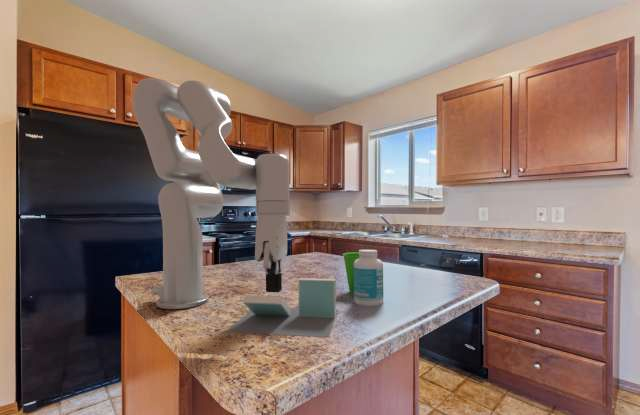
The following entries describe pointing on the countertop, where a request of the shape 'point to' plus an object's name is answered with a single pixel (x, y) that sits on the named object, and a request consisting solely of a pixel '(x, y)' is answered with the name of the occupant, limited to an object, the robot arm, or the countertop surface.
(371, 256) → the pill bottle
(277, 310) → the tile
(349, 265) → the cup
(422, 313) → the countertop surface
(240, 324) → the mat
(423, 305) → the countertop surface
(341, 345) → the countertop surface
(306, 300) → the tile
